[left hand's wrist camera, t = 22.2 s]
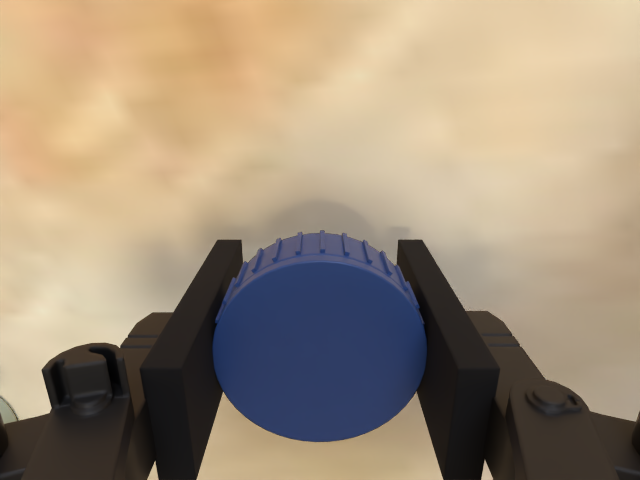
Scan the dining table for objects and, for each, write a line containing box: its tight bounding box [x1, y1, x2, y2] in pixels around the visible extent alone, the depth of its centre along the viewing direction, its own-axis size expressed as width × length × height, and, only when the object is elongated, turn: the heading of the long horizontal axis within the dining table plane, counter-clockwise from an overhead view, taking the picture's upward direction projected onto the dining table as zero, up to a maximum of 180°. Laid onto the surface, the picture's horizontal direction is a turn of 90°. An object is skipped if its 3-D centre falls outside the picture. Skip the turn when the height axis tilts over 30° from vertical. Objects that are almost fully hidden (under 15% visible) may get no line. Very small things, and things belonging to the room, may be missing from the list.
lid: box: [212, 231, 427, 442], centre depth 11 cm, size 5×5×2 cm
